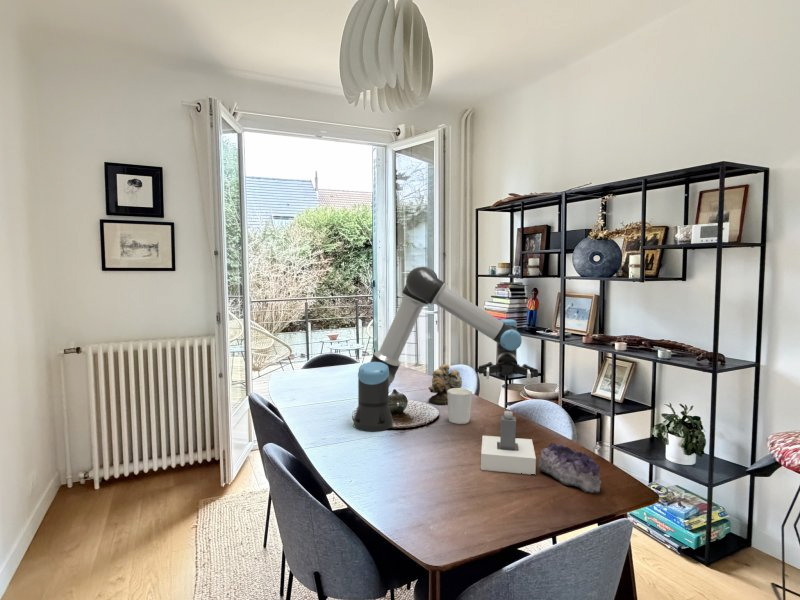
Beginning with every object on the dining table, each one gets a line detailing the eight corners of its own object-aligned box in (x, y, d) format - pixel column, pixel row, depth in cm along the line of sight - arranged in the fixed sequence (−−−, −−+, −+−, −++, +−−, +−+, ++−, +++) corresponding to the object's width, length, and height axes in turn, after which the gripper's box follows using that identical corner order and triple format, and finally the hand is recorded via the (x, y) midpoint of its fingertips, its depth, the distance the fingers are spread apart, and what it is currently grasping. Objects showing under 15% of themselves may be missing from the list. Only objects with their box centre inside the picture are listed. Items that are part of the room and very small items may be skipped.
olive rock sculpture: (435, 407, 209) (436, 368, 208) (422, 400, 219) (422, 363, 218) (469, 402, 217) (470, 365, 216) (454, 396, 228) (455, 360, 226)
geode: (615, 488, 135) (614, 455, 133) (587, 503, 129) (586, 469, 127) (558, 460, 152) (557, 430, 150) (531, 472, 146) (530, 441, 145)
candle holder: (470, 425, 186) (471, 395, 185) (445, 423, 188) (445, 393, 187) (472, 417, 195) (472, 388, 194) (447, 415, 197) (448, 387, 196)
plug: (499, 460, 150) (501, 413, 149) (499, 455, 154) (501, 409, 153) (514, 462, 149) (516, 414, 148) (514, 456, 153) (515, 410, 152)
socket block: (480, 469, 145) (481, 453, 145) (482, 449, 161) (482, 435, 161) (535, 474, 142) (535, 458, 142) (531, 454, 158) (531, 439, 158)
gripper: (541, 375, 178) (546, 390, 157) (473, 371, 183) (470, 385, 162) (541, 355, 178) (547, 367, 157) (474, 352, 183) (470, 363, 162)
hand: (508, 376), depth 160 cm, fingers open, 13 cm apart
